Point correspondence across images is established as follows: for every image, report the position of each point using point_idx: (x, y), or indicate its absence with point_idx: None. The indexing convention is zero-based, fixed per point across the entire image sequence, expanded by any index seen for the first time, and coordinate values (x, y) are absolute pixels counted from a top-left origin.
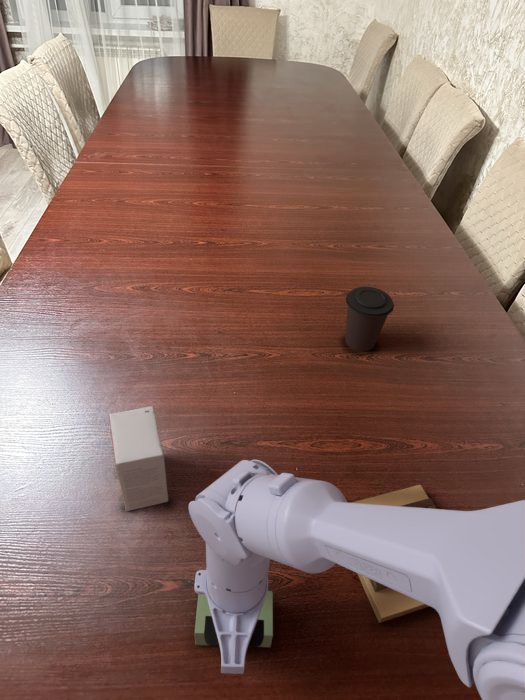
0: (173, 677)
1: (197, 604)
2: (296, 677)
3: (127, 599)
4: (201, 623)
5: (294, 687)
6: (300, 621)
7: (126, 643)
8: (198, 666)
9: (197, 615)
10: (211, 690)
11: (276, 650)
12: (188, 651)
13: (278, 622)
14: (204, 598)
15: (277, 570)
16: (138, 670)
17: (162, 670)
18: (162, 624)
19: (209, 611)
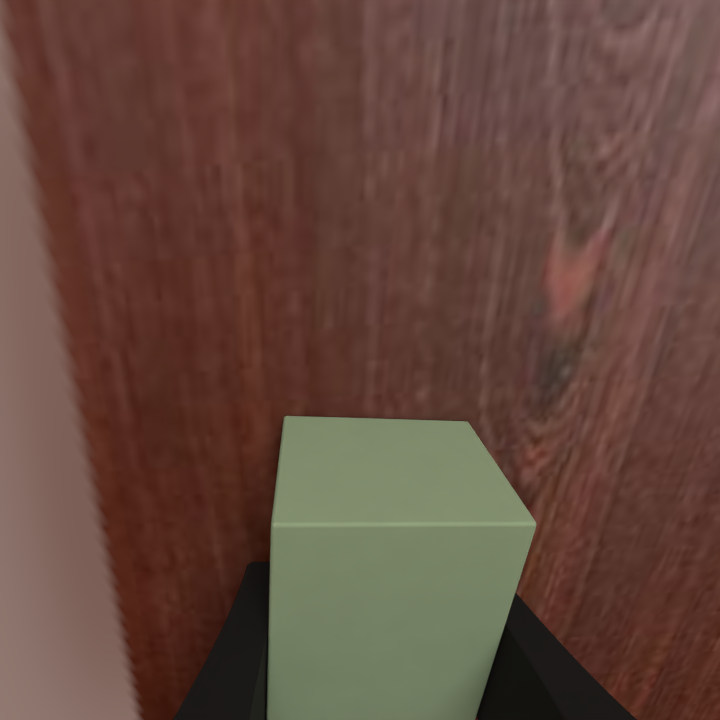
0: (138, 327)
1: (444, 521)
2: None
3: (550, 24)
4: (328, 552)
5: (156, 704)
6: None
7: (295, 38)
8: (196, 430)
9: (377, 531)
10: (107, 483)
11: None
12: (257, 386)
13: None
14: (472, 556)
15: None
16: (150, 133)
17: (164, 271)
18: (385, 256)
19: (394, 583)
